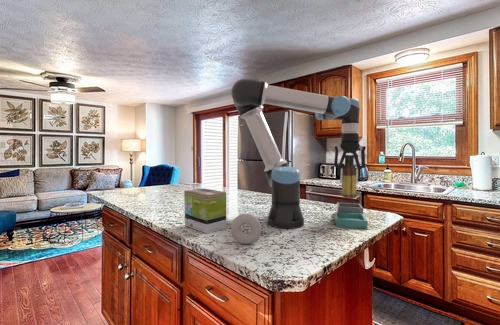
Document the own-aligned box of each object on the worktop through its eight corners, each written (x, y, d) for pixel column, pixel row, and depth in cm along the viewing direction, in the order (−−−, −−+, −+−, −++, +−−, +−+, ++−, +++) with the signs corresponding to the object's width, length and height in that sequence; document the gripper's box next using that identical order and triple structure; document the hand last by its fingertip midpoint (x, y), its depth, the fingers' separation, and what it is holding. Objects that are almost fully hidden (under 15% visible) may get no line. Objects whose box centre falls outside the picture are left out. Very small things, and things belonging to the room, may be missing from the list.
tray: (336, 226, 105) (336, 219, 105) (334, 218, 117) (334, 212, 117) (367, 228, 102) (367, 221, 102) (362, 220, 114) (362, 213, 114)
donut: (230, 245, 84) (230, 214, 84) (231, 241, 87) (231, 212, 87) (261, 246, 83) (261, 215, 83) (261, 242, 87) (261, 212, 86)
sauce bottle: (353, 196, 125) (355, 155, 125) (357, 198, 119) (359, 155, 118) (339, 196, 126) (341, 154, 125) (343, 198, 120) (344, 154, 119)
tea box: (183, 226, 106) (183, 190, 105) (203, 221, 113) (203, 187, 113) (206, 234, 96) (206, 194, 95) (227, 228, 103) (227, 191, 102)
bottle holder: (337, 217, 119) (337, 206, 119) (336, 212, 129) (336, 202, 129) (363, 219, 116) (363, 208, 116) (359, 213, 127) (359, 203, 126)
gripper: (328, 132, 120) (327, 182, 121) (373, 132, 115) (372, 184, 116) (328, 133, 128) (327, 181, 129) (370, 133, 123) (369, 182, 124)
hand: (348, 182), depth 122 cm, fingers closed on sauce bottle, 6 cm apart
